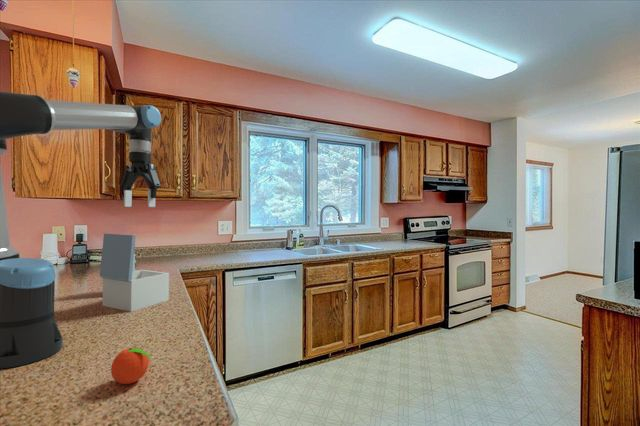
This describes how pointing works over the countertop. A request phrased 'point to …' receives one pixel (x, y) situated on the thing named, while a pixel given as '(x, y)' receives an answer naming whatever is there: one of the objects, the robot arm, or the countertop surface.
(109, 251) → the lid
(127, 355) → the clementine
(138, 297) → the storage box
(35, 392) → the countertop surface
